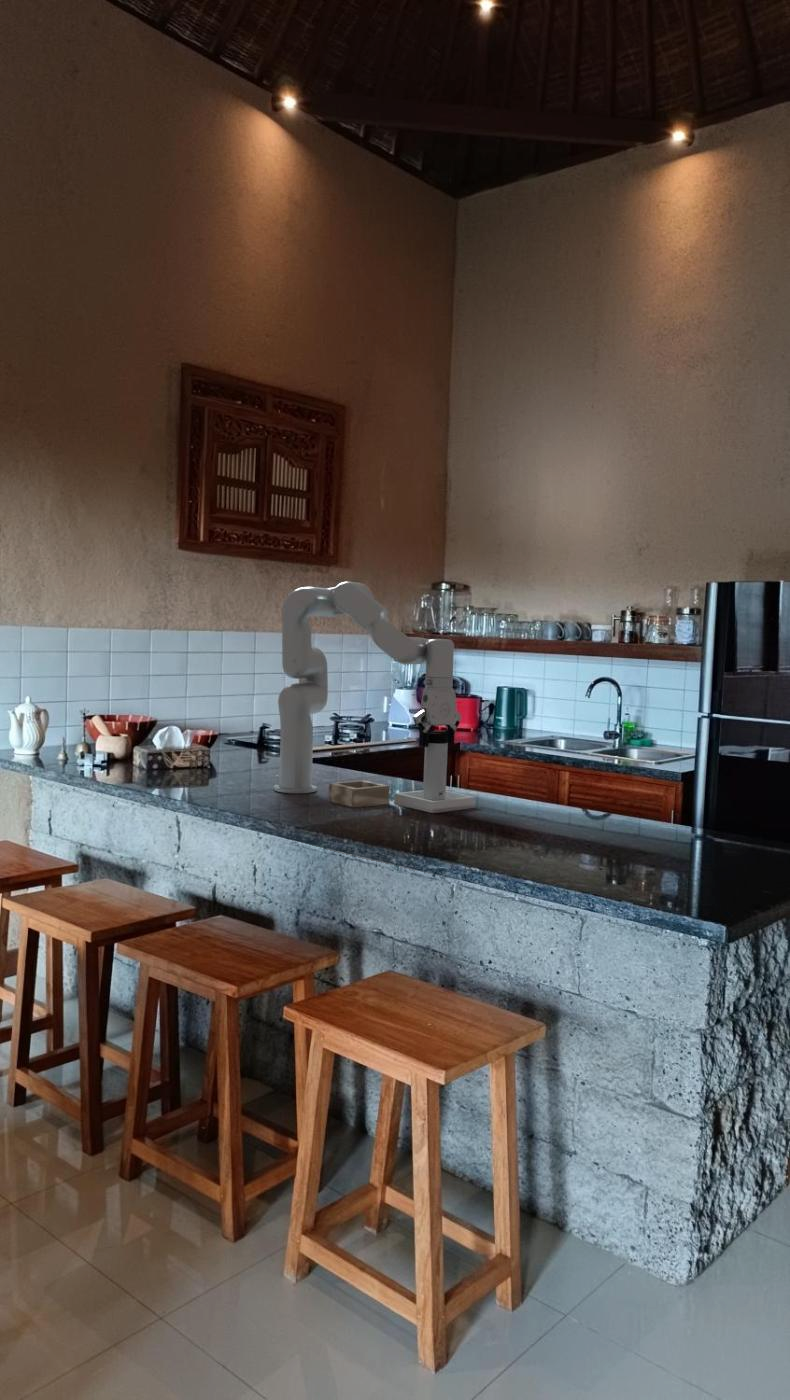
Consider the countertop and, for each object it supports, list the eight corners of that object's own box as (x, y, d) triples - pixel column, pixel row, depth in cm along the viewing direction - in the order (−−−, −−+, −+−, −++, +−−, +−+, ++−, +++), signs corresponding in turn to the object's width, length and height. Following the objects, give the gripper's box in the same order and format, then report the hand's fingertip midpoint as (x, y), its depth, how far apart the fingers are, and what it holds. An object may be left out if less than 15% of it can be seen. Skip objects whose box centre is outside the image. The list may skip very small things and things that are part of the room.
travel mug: (446, 804, 279) (449, 732, 278) (422, 803, 279) (425, 731, 278) (446, 800, 285) (449, 729, 284) (422, 799, 286) (425, 728, 284)
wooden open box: (328, 800, 284) (329, 783, 284) (362, 797, 292) (362, 780, 292) (355, 807, 275) (355, 789, 275) (388, 803, 283) (389, 785, 283)
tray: (393, 803, 283) (394, 793, 283) (436, 798, 293) (436, 788, 293) (432, 813, 271) (433, 802, 271) (475, 807, 281) (475, 796, 281)
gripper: (424, 685, 271) (422, 749, 273) (470, 684, 282) (468, 745, 284) (406, 683, 277) (404, 745, 278) (452, 682, 288) (450, 742, 289)
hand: (436, 745), depth 281 cm, fingers open, 9 cm apart
